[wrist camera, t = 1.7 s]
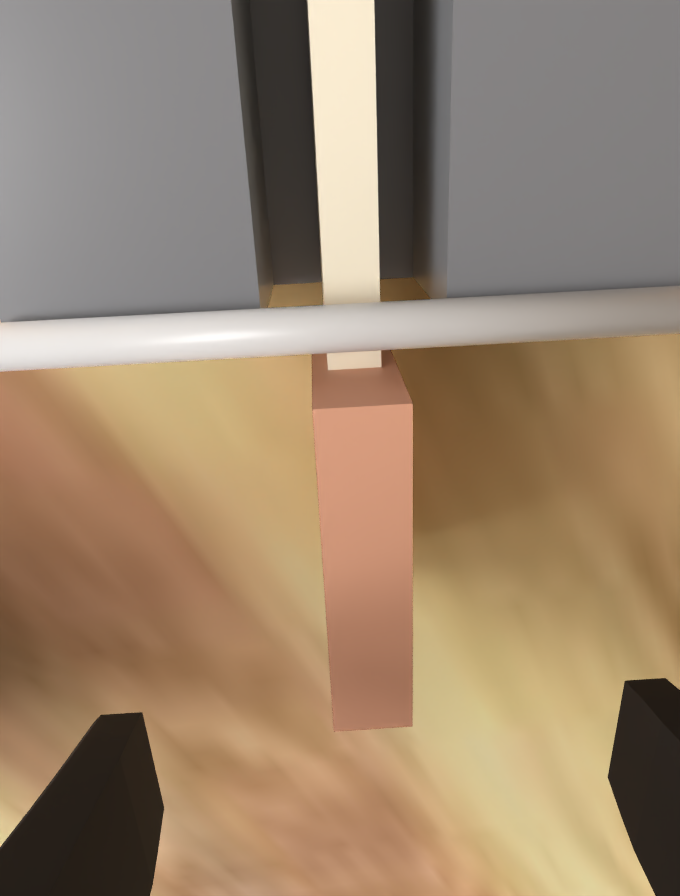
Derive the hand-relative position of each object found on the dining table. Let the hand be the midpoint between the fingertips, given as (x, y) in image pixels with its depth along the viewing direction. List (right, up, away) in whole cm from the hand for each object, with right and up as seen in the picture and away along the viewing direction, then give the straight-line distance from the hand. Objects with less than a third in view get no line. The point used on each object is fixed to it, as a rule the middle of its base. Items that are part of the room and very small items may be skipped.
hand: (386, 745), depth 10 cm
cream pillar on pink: (-1, +10, +4) cm, 11 cm away
